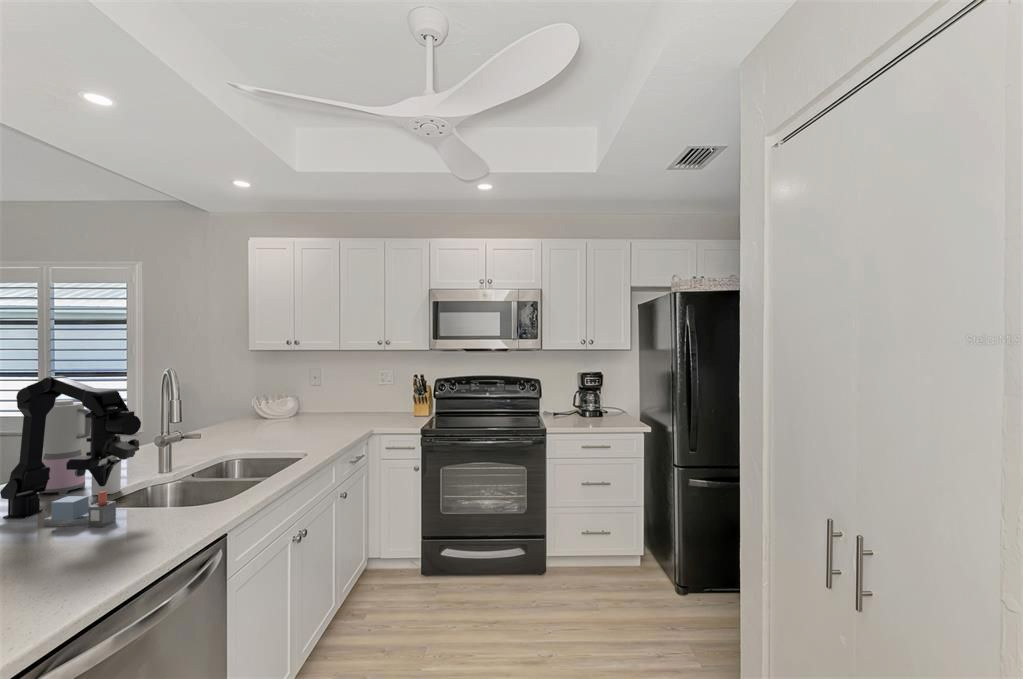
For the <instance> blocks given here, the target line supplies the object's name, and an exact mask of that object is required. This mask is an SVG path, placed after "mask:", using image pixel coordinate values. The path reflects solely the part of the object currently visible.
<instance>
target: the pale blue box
mask: <svg viewBox="0 0 1023 679" xmlns="http://www.w3.org/2000/svg"><path fill="white" fill-rule="evenodd" d="M89 497H90V496H89V495H88V496H87V495H72V496H71V495H68V496H64V497H62V498H59V499H57V500H54V501H51V515H50V516H51V520H73V519H76V518H78V517H80V516H86V515H88V507H89V501H90V500H89Z"/></svg>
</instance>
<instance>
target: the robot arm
mask: <svg viewBox="0 0 1023 679" xmlns="http://www.w3.org/2000/svg"><path fill="white" fill-rule="evenodd" d="M62 395H64V396H66V397H69V398H71V399H75V400H76V401H80V403H82V405H83V406H84V408H86V410H88V411H89V413H88V414H87V415H85V417H86V418H91V430H90V436H88V437H86V442H89V443H90V447H89V448H90V449H89V450H90V451H87V452H86V453H85V456H84V455H83V456H80V457H76V458H73V459H70V460H69V461H68V462H67V463H66V469H67V470H86V471H89V473H90V474H91V476H92V475H93V477H94V478H95V480H96V482H97V483H98V485H99V486H100V487H103V486H105V485H106V483H107V480H108V478H109V475H110V473H111V471H112V469H113V467H114V466H115V465H116V464H117V463H118V462H120V461H121V462H122V460H124V461H125V460H127V459H129V458H134V456H135V455H136V452H137V451H140V441H139V439H137V438H134V439H133V438H132V439H129V441H127V440H125V441H122V440H121V436H133V435H135V434H137V433H138V432H139V430H140V429H141V426H142V421H141V420H140V418H139V417H138V416H137V415H135V411H133V410H132V411H131V410H130V409H129V408H128V405H127V403H125V401H124V399H123V398H122V396H121V394H120V392H119V391H117V390H116V389H111V388H97V387H94V386H91V385H87V384H85V383H82V382H79V381H76V380H74V379H71V378H69V377H68V376H65V375H54V376H53V375H51V376H47V377H45V378H43V379H41V380H40V381H38V382H34V383H32V384H29V385H27V386H25V387H23V388H21V389H20V390H18V391H17V394H16V407H17V409H18V411H19V412H20V413H21V414H22V416H23V420H22V421H23V422H22V430H21V431H22V432H21V441H20V451H19V452H20V453H19V454H20V455H19V462H18V463H17V465H16V466H15V467H14V468H13V469H12V471H11V472H10V476H9V480H8V482H7V483H6V484H5V486H4V487H3V488H2V489H1V490H0V498H1V499H2V500H7V515H4V516H2V519H27V518H29V517H32V516H35V515H37V514H40V513H42V512H44V509H40V508H41V506H40V505H41V499H40V498H39V497H40V494H39V492H44V491H45V489H46V486H47V483H48V480H50V477H49V473H50V468H49V467H46V466H45V465H44V463H43V462H42V459H43V456H44V455H43V454H44V446H43V445H44V434H45V424H46V415H47V414H48V413H49V412H50V410H51V409H52V408H53V407H54V404H55V401H57V400H56V399H57V398H59V397H60V396H62ZM117 457H118V458H119V459H121V460H117Z"/></svg>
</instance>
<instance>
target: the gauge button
mask: <svg viewBox="0 0 1023 679" xmlns="http://www.w3.org/2000/svg"><path fill="white" fill-rule="evenodd" d="M107 501H108V495H107V491H101V492H98V497H97V503H98V505H106V504H107Z"/></svg>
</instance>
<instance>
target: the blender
mask: <svg viewBox="0 0 1023 679" xmlns="http://www.w3.org/2000/svg"><path fill="white" fill-rule="evenodd" d="M89 412H90V410H88V409H85V407H84V406H83V405H82V402H74V400H73V399H58V400H55V404H54V407H53V408H52V409H51V410H50V412H49V413H48V414H47V415H46V424H45V434H44V445H43V452H44V453H43V454H44V455H43V456H42V462H43V463H44V465H45V466H46V467H49V468H50V473H49V477H50V480H48V483H47V486H46V489H45V491H44V492H39V495H40V494H41V495H42V494H43V493H46V494H47V493H48V494H49V493H58V496H64V494H65V495H68V491H72V490H75V489H79V488H80V489H81V490H84V489H85V487H86V472H87V470H67V469H66V463H67V462H68V461H69V460H70V459H73V458H76V457H80V456H84V455H83V453H82V443H83V439H85V438H86V439H87V438H89V437H90V436H91V418H86V417H85V415H87V414H88V413H89ZM83 488H84V489H83Z"/></svg>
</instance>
